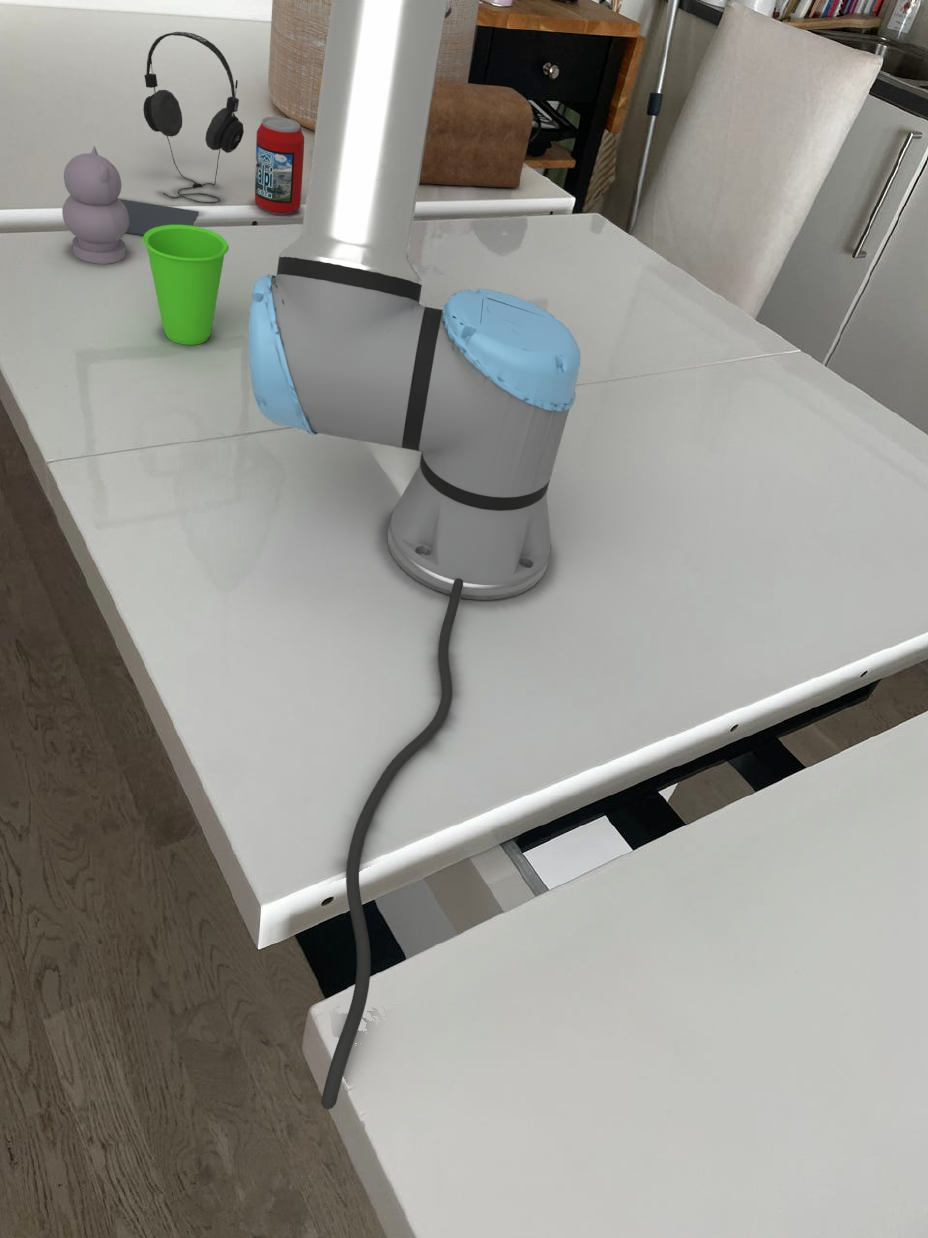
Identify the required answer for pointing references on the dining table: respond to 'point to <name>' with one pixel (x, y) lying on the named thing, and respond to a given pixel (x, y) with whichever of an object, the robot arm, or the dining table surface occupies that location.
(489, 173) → the bread
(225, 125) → the headphones
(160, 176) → the dining table surface
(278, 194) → the beverage can
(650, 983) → the dining table surface
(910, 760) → the dining table surface
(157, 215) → the placemat
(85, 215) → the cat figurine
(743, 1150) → the dining table surface
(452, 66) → the planter
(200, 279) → the cup
